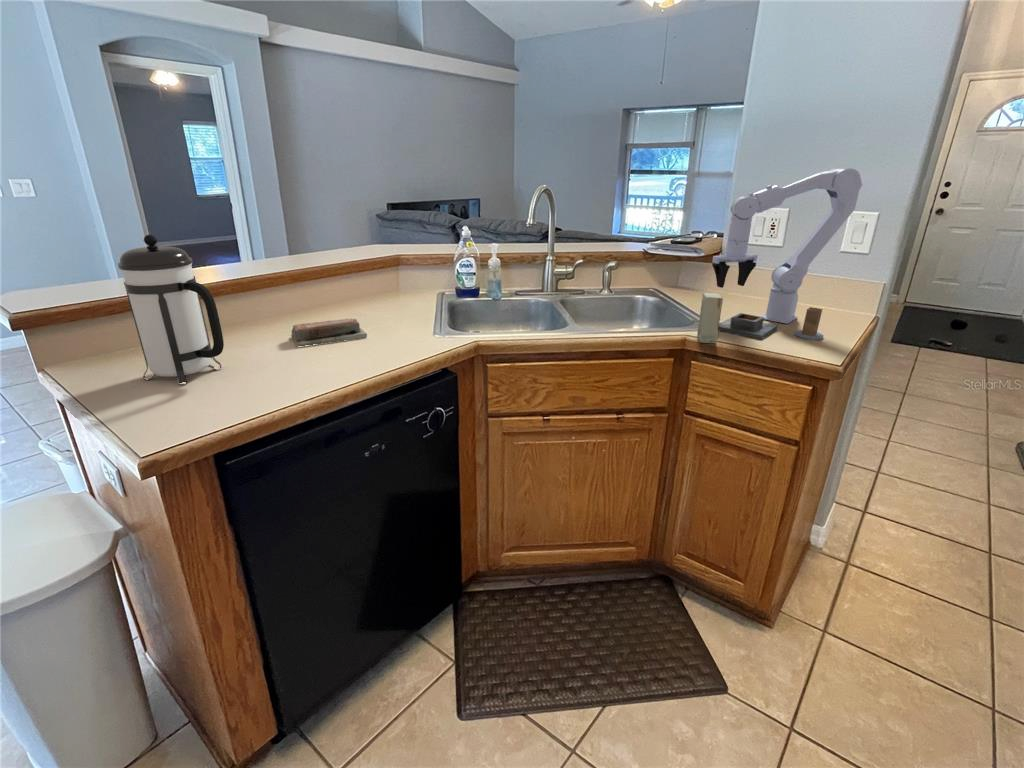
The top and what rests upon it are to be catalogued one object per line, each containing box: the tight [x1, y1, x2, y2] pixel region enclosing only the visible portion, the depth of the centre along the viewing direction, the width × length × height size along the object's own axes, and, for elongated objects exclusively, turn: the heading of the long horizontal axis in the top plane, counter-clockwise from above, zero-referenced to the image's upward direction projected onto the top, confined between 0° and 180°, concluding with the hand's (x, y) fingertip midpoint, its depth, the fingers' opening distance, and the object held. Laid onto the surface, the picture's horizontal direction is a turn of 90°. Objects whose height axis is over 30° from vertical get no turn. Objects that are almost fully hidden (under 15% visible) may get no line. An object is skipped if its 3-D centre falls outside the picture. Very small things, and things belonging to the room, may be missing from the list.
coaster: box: [794, 329, 824, 341], centre depth 146 cm, size 7×7×1 cm
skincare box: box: [696, 292, 724, 344], centre depth 140 cm, size 6×4×12 cm
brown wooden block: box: [802, 307, 823, 336], centre depth 144 cm, size 3×3×7 cm
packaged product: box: [290, 318, 368, 347], centre depth 141 cm, size 18×5×10 cm
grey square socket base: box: [718, 312, 779, 341], centre depth 151 cm, size 13×13×4 cm
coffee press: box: [117, 234, 225, 384], centre depth 111 cm, size 17×16×30 cm
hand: (730, 286), depth 161 cm, fingers open, 7 cm apart
